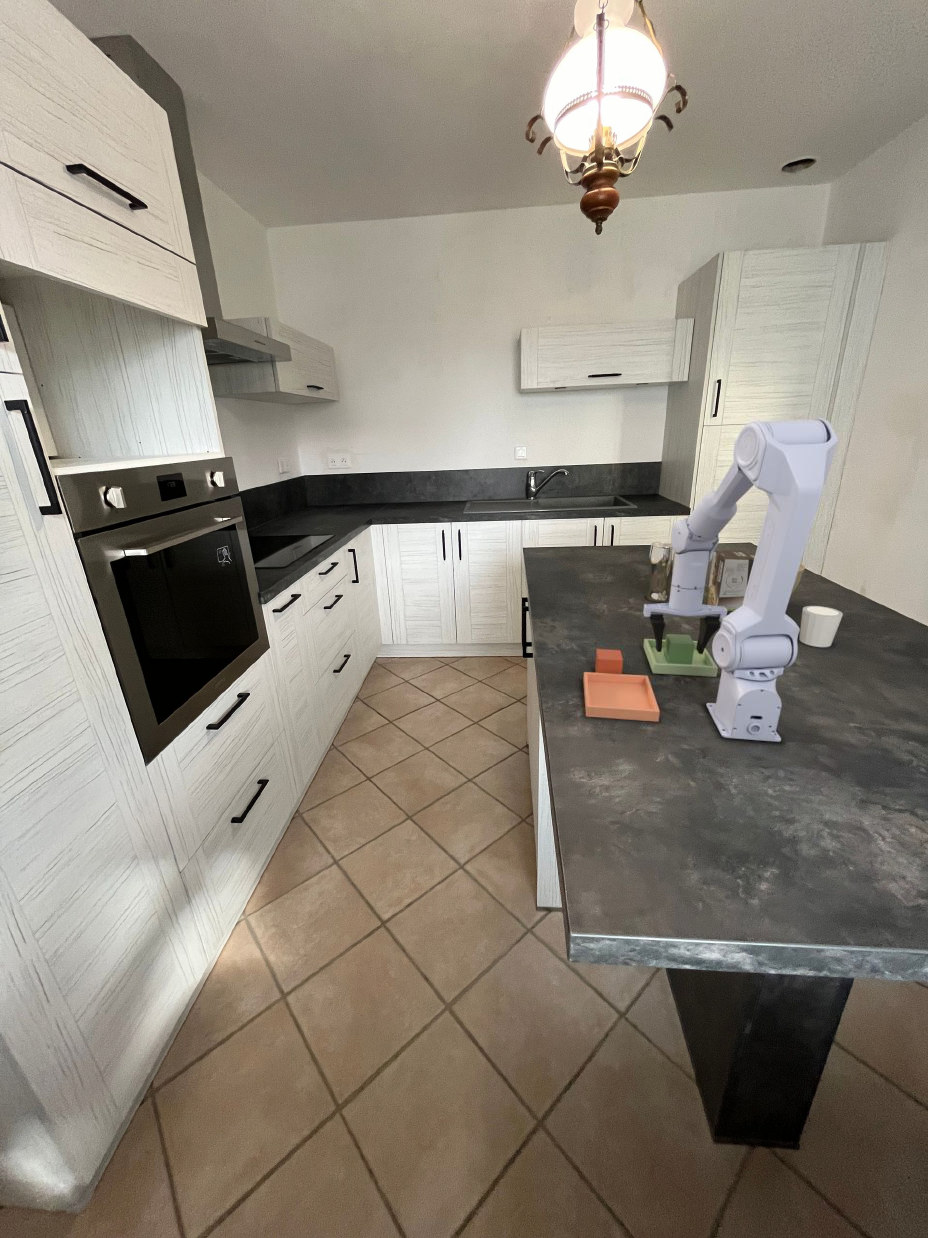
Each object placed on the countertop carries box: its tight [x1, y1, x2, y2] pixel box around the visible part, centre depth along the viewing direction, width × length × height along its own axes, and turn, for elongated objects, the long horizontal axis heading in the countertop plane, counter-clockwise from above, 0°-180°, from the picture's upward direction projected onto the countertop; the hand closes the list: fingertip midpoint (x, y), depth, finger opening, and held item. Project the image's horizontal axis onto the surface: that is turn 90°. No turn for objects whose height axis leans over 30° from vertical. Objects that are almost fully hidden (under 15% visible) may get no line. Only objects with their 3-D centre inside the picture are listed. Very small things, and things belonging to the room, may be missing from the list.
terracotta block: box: [594, 648, 624, 674], centre depth 91 cm, size 4×4×4 cm
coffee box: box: [705, 549, 754, 627], centre depth 113 cm, size 9×6×16 cm
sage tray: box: [643, 638, 719, 678], centre depth 96 cm, size 12×11×2 cm
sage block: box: [664, 633, 695, 664], centre depth 96 cm, size 4×4×4 cm
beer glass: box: [646, 541, 675, 603], centre depth 129 cm, size 7×7×15 cm
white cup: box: [798, 605, 844, 648], centre depth 102 cm, size 7×7×7 cm
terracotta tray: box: [583, 671, 660, 723], centre depth 83 cm, size 12×11×2 cm
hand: (678, 650), depth 96 cm, fingers open, 7 cm apart
